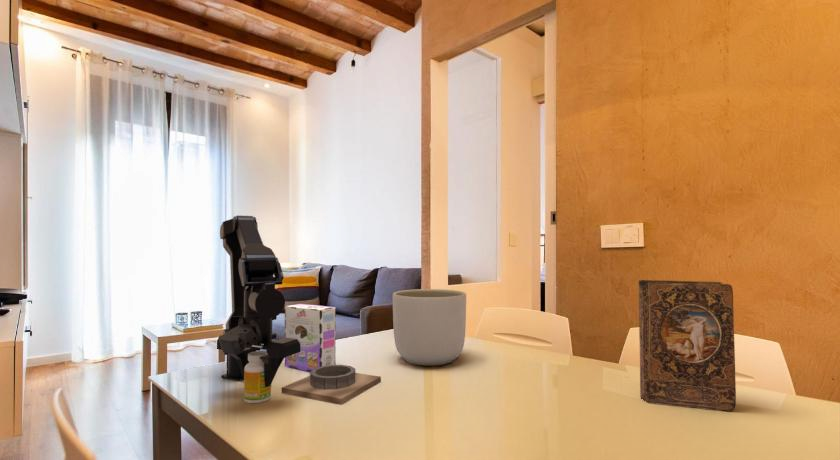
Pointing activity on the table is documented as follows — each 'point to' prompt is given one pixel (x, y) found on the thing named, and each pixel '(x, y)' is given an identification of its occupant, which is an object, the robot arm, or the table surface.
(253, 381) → the supplement bottle
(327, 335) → the candy box
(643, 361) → the book
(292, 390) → the collar holder
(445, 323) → the planter
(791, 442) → the table surface
